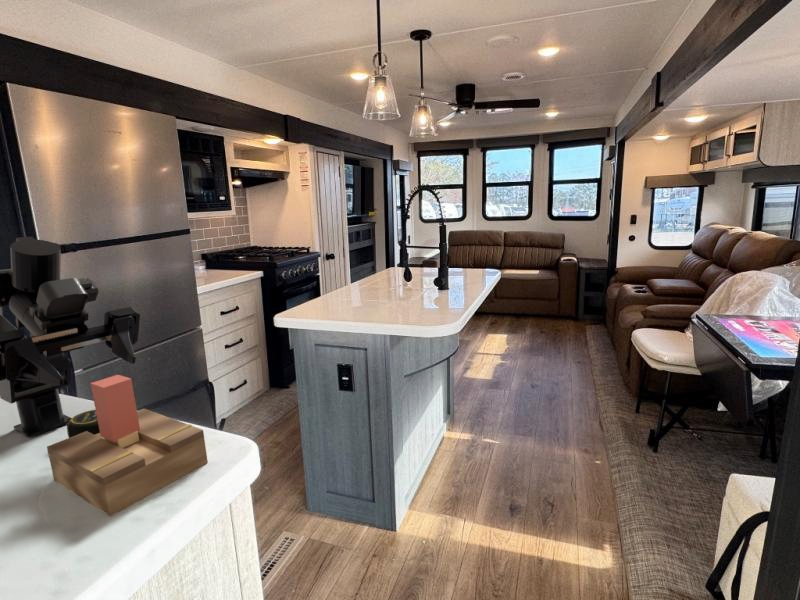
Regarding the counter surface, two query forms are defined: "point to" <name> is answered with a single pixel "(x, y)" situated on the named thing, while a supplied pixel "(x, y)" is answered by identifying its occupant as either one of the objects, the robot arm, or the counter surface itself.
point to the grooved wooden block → (127, 462)
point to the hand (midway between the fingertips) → (100, 371)
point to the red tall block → (116, 410)
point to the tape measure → (83, 423)
